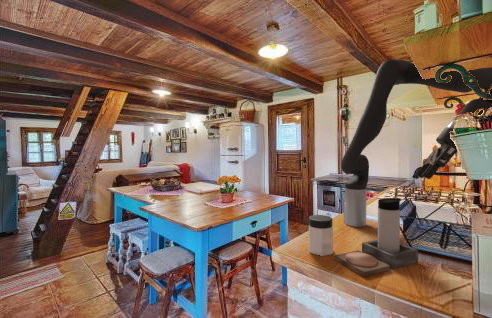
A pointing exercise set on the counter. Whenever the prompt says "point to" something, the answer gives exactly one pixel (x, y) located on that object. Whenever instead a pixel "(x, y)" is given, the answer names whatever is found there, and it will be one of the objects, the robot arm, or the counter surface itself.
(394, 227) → the travel mug
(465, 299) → the counter surface
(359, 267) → the mug dock
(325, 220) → the jar
